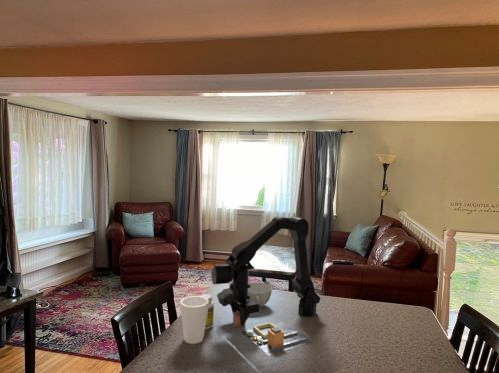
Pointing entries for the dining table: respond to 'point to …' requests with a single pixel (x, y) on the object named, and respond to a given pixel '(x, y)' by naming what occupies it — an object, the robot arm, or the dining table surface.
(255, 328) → the socket
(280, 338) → the toggle
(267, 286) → the teacup
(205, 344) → the dining table surface
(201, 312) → the foam cup
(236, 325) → the salmon cylinder
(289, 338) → the panel
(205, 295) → the pill bottle
